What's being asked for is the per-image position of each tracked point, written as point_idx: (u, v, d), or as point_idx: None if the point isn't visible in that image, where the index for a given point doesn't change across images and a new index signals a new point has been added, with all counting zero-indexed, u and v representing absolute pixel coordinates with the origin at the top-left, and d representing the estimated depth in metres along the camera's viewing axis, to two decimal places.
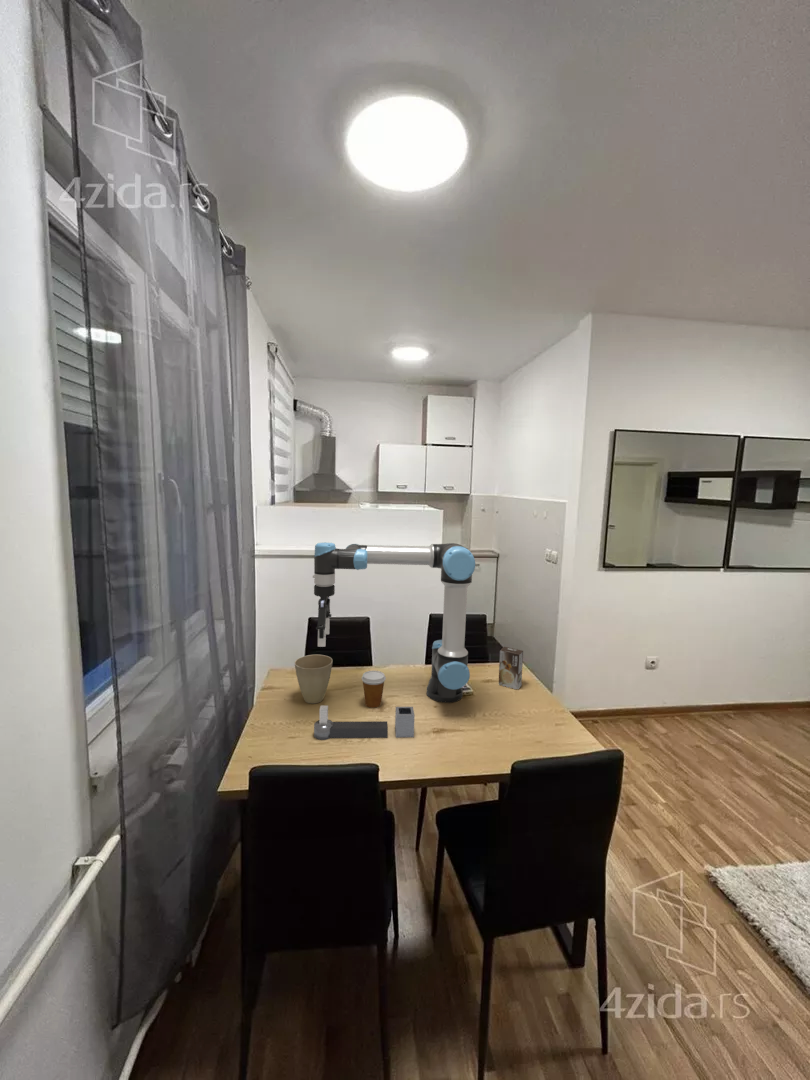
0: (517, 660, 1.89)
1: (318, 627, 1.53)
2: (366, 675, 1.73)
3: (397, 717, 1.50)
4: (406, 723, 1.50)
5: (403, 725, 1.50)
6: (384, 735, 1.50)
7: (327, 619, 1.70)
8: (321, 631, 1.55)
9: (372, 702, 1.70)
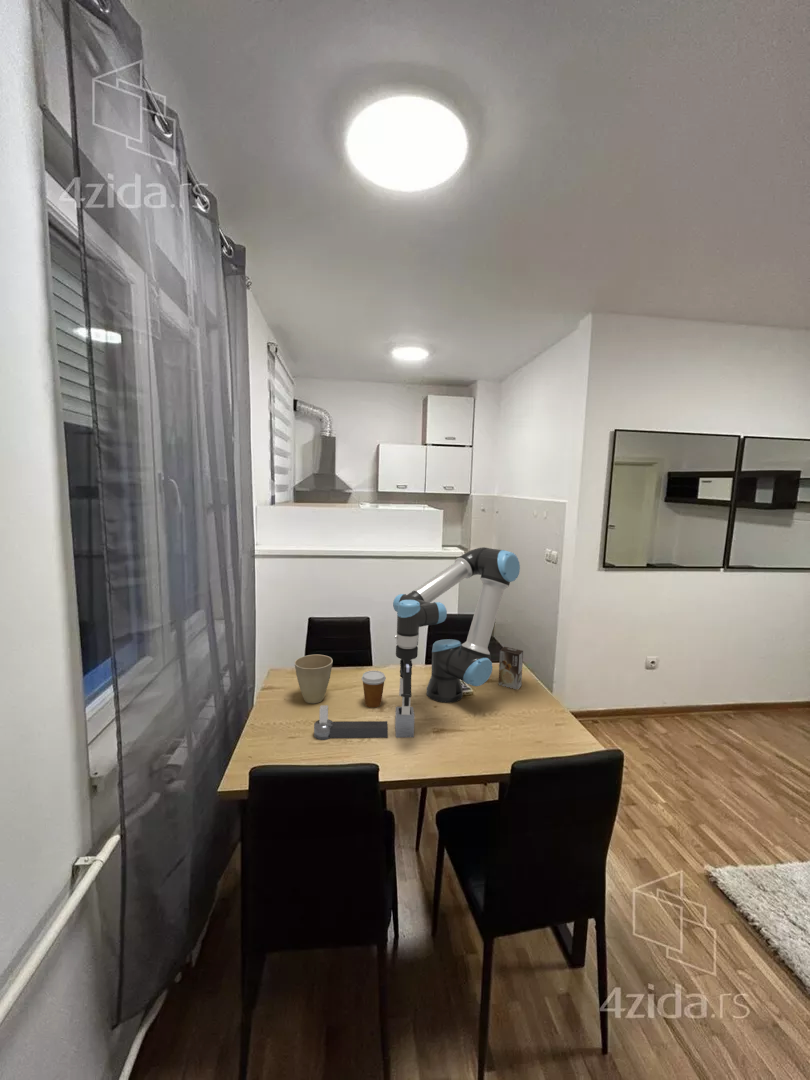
0: (517, 660, 1.89)
1: (405, 695, 1.42)
2: (366, 675, 1.73)
3: (397, 717, 1.50)
4: (406, 723, 1.50)
5: (403, 725, 1.50)
6: (384, 735, 1.50)
7: None
8: (407, 698, 1.43)
9: (372, 702, 1.70)
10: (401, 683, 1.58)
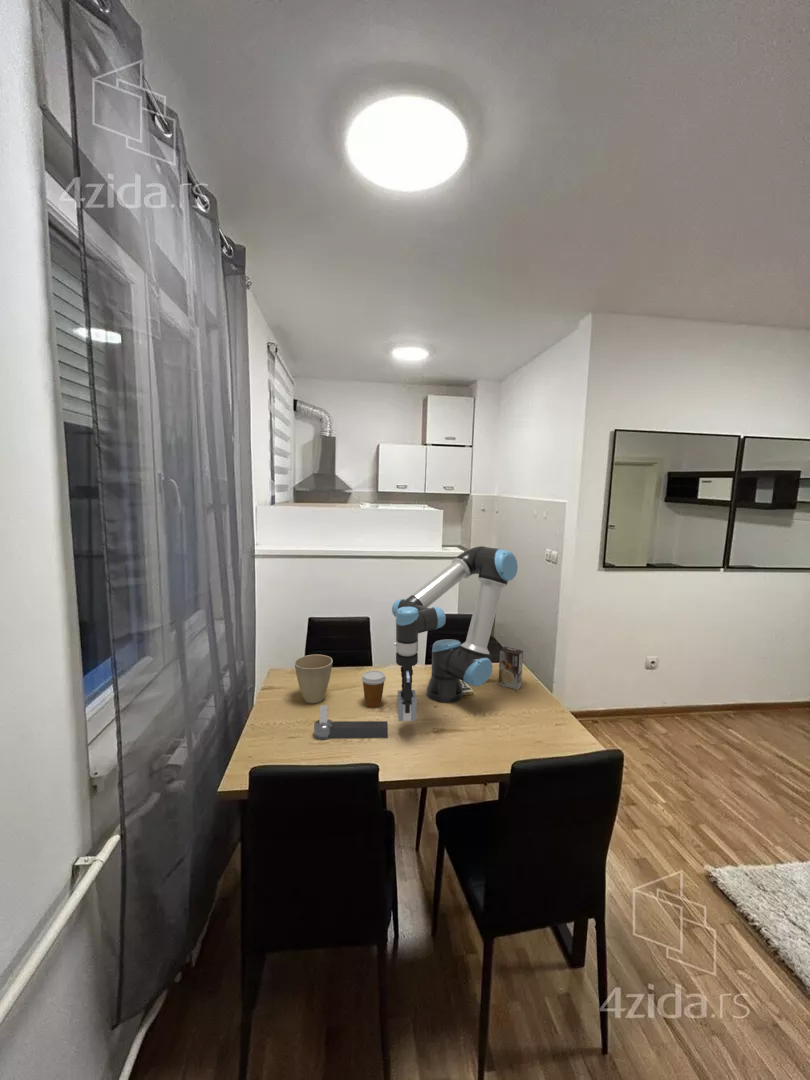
0: (517, 660, 1.89)
1: (405, 703, 1.46)
2: (366, 675, 1.73)
3: (399, 701, 1.49)
4: None
5: None
6: (384, 735, 1.50)
7: None
8: (407, 706, 1.48)
9: (372, 702, 1.70)
10: None
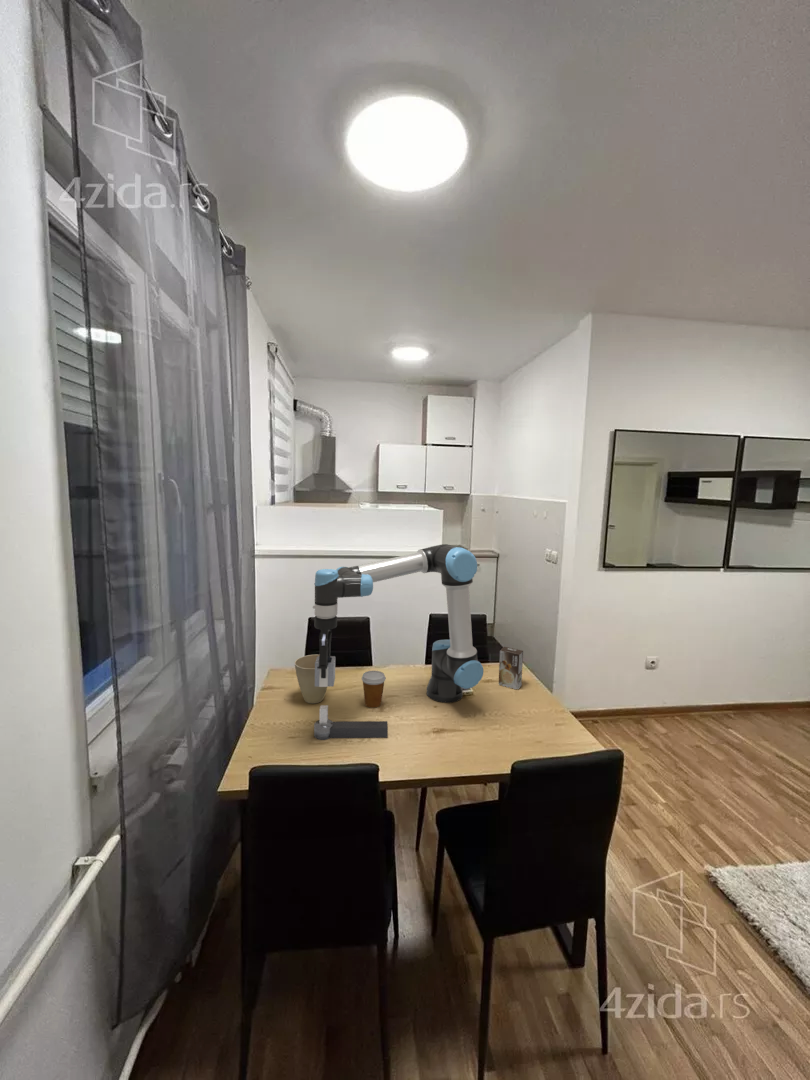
0: (517, 660, 1.89)
1: (320, 667, 1.41)
2: (366, 675, 1.73)
3: (315, 665, 1.45)
4: None
5: None
6: (384, 735, 1.50)
7: None
8: (323, 670, 1.43)
9: (372, 702, 1.70)
10: None
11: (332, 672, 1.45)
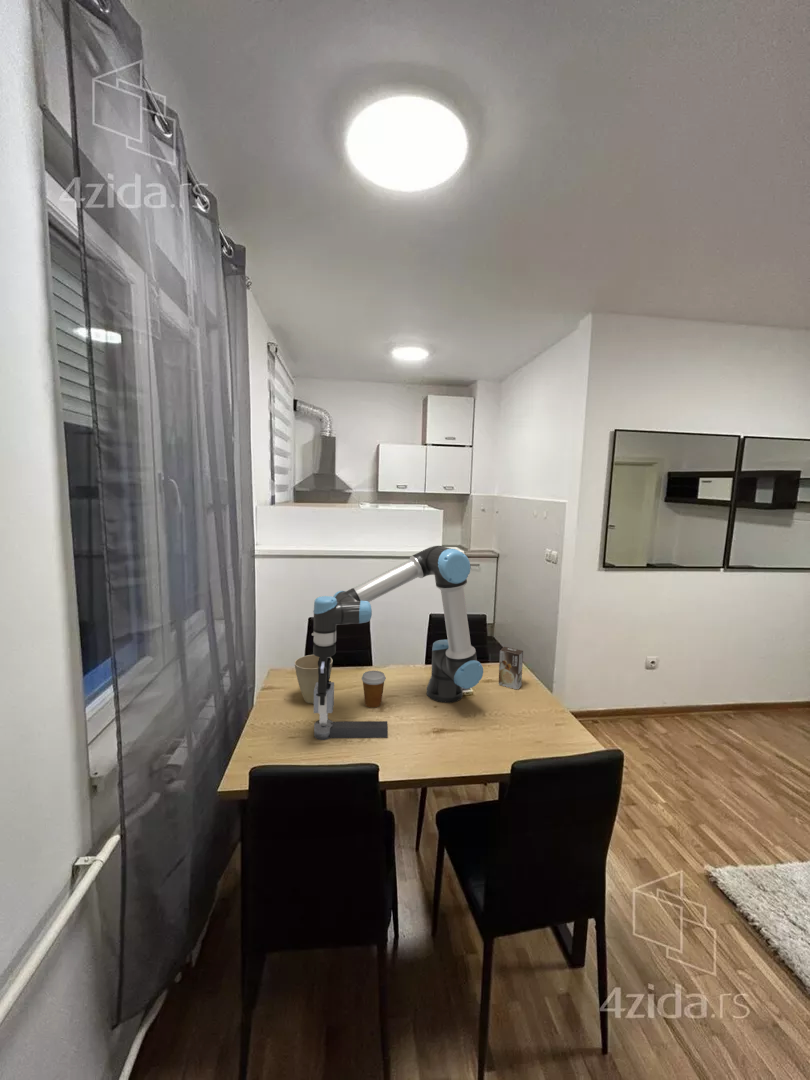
0: (517, 660, 1.89)
1: (319, 695, 1.42)
2: (366, 675, 1.73)
3: (314, 692, 1.46)
4: None
5: None
6: (384, 735, 1.50)
7: None
8: (322, 698, 1.44)
9: (372, 702, 1.70)
10: None
11: (331, 699, 1.46)
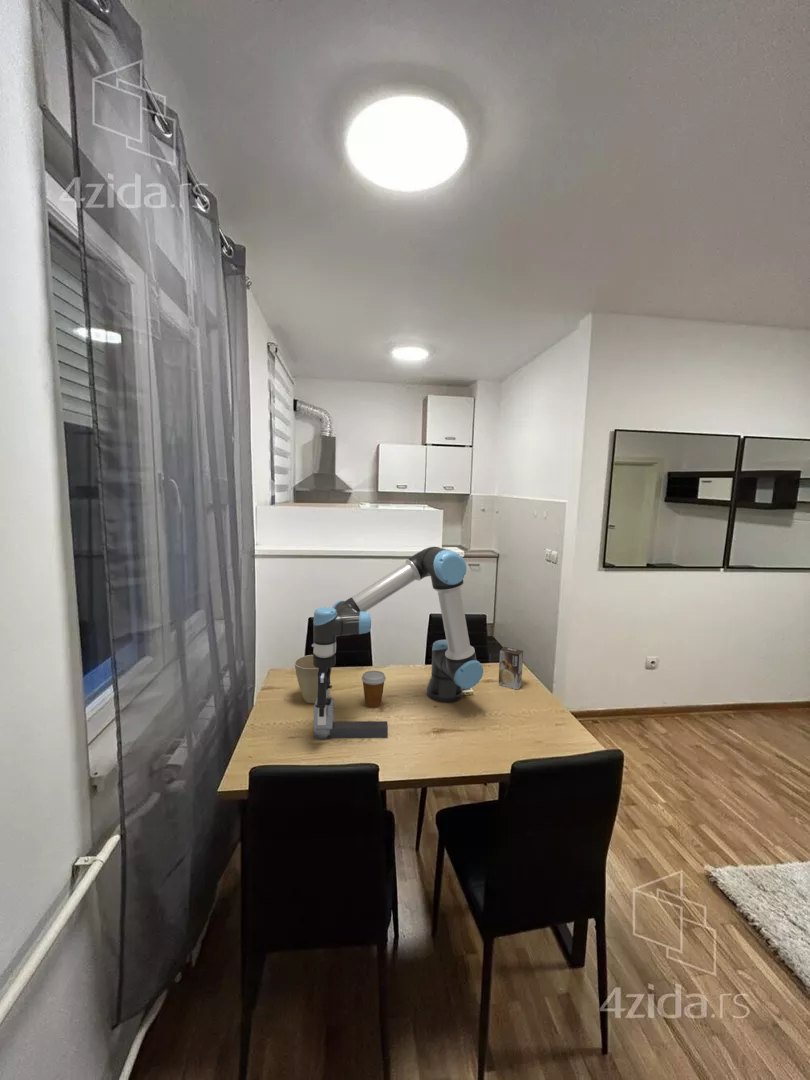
0: (517, 660, 1.89)
1: (318, 706, 1.40)
2: (366, 675, 1.73)
3: (315, 708, 1.46)
4: None
5: None
6: (384, 735, 1.50)
7: (327, 691, 1.55)
8: (321, 709, 1.42)
9: (372, 702, 1.70)
10: None
11: (331, 715, 1.47)
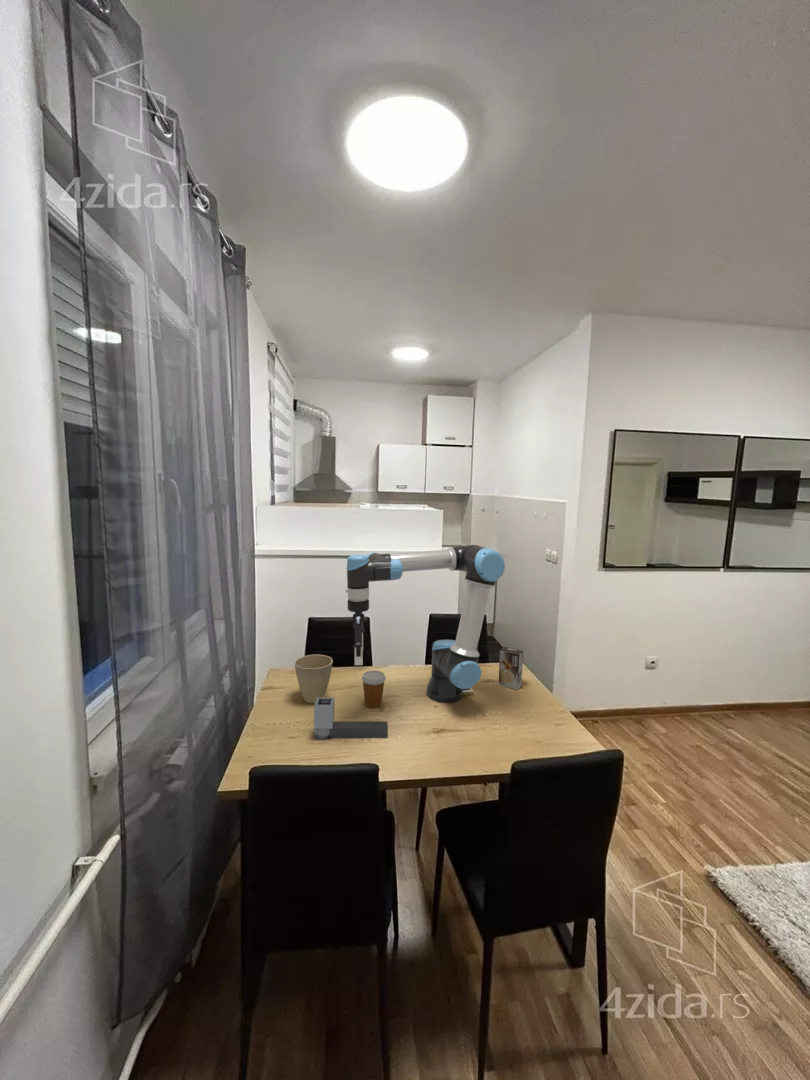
0: (517, 660, 1.89)
1: (355, 645, 1.45)
2: (366, 675, 1.73)
3: (315, 708, 1.46)
4: (324, 714, 1.47)
5: (321, 715, 1.47)
6: (384, 735, 1.50)
7: None
8: (358, 649, 1.47)
9: (372, 702, 1.70)
10: None
11: (331, 714, 1.47)
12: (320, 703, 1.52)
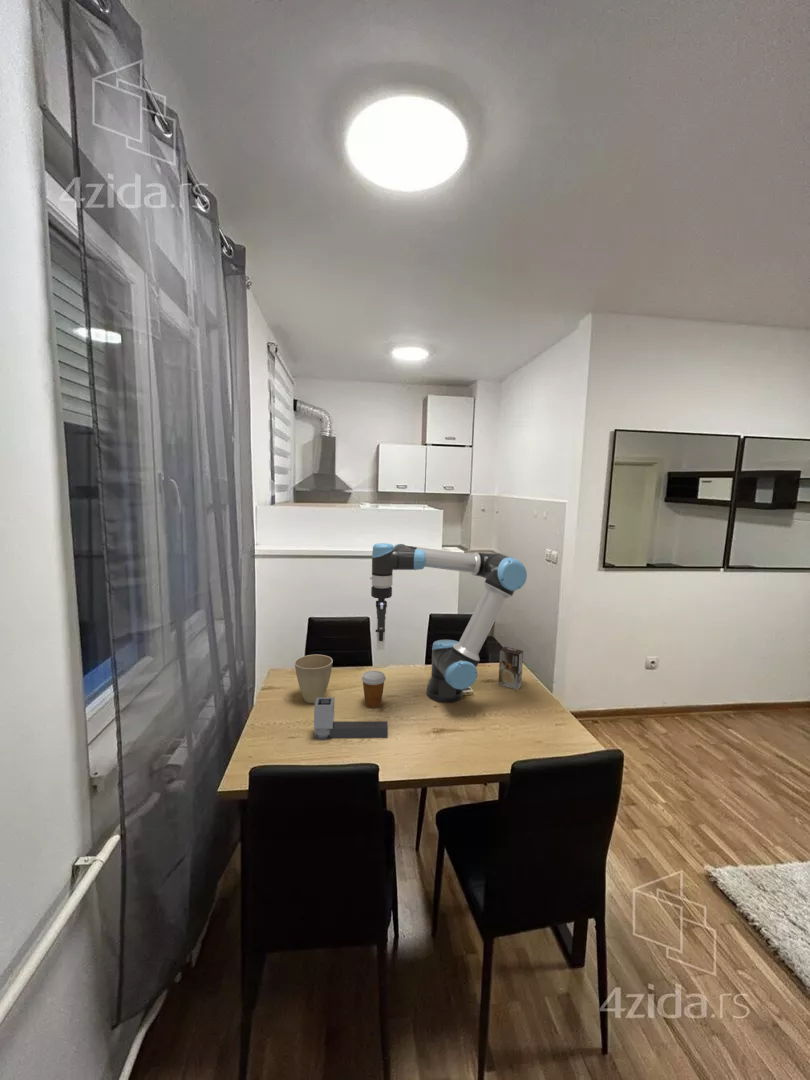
0: (517, 660, 1.89)
1: (378, 630, 1.50)
2: (366, 675, 1.73)
3: (315, 708, 1.46)
4: (324, 714, 1.47)
5: (321, 715, 1.47)
6: (384, 735, 1.50)
7: None
8: (381, 634, 1.52)
9: (372, 702, 1.70)
10: (378, 624, 1.67)
11: (331, 714, 1.47)
12: (320, 703, 1.52)
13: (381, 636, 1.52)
